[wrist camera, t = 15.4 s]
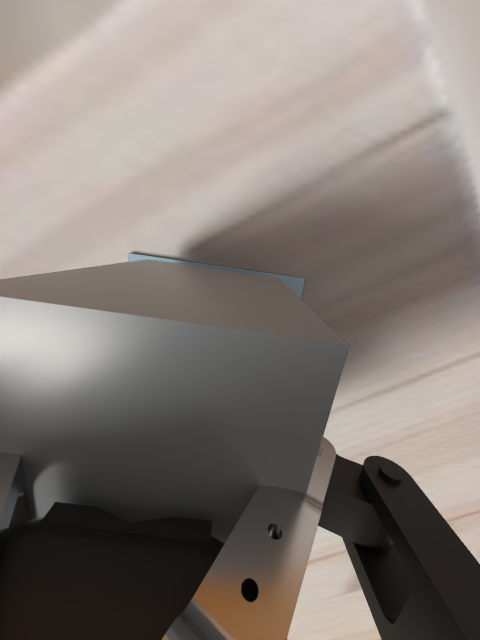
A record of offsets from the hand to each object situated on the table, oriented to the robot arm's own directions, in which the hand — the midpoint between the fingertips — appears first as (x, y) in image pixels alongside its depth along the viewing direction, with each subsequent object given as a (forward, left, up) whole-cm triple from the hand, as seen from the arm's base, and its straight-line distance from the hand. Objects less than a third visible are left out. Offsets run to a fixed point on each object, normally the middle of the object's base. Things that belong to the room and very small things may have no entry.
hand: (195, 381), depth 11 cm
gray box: (0, 0, -3) cm, 3 cm away
